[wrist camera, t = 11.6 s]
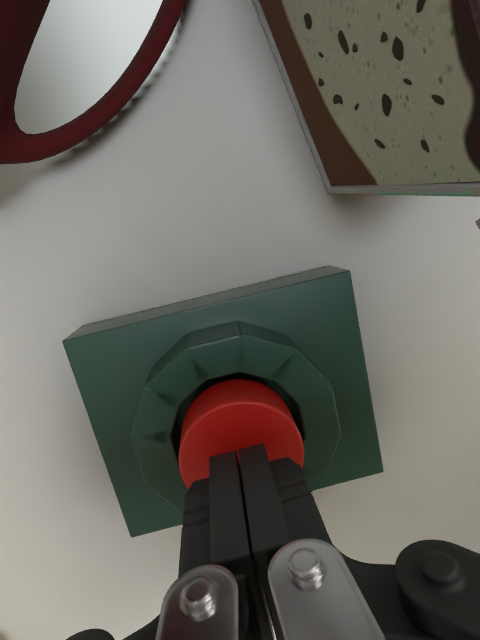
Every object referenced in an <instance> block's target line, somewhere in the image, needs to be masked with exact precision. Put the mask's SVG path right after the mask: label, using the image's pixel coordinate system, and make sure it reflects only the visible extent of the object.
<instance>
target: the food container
mask: <svg viewBox="0 0 480 640" xmlns="http://www.w3.org/2000/svg"><path fill="white" fill-rule="evenodd" d="M252 1H253V4H254V6H255V9H256V11H257V14H258V16H259V19H260V21H261V24H262V27H263V29H264V32H265V34H266V37H267V39H268V42H269V44H270V47H271V50H272V52H273V55H274V57H275V60H276V62H277V65H278V67H279V70H280V72H281V75H282V78H283V80H284V83H285V85H286V88H287V90H288V93H289V95H290V98H291V101H292V103H293V106H294V108H295V111H296V113H297V116H298V118H299V121H300V123H301V126H302V129H303V131H304V134H305V136H306V139H307V141H308V144H309V146H310V149H311V152H312V154H313V157H314V159H315V162H316V164H317V167H318V169H319V172H320V174H321V177H322V180H323V182H324V185H325V187H326V190H327V192H328V193H329V194H379V195H429V196H480V0H252ZM475 222H476V224H477V226H478V228H479V229H480V219H479V220H477V221H475Z"/></svg>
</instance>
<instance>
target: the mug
mask: <svg viewBox="0 0 480 640" xmlns="http://www.w3.org/2000/svg"><path fill="white" fill-rule="evenodd" d="M49 2H50V0H0V164H17V163H29V162H34V161H39V160H43V159H46V158H49V157H52V156H55V155H57V154H59V153H61V152H63V151H66V150H68V149H70V148H71V147H73V146H75V145H77V144H78V143H80V142H82V141H84V140H85V139H86V138H88V137H89V136H91V135H92V134H94V133H95V132H96V131H98V130H99V129H100V128H101V127H103V126H104V125H105V124H106V123H107V122H109V121H110V120H111V119H112V118H113V117H114V116H115V115H116V114H117V113H118V112H119V111H120V110H121V109H122V108H123V107H124V106H125V105H126V104H127V102H128V101H129V100H130V99H131V98H132V96H133V95H134V94H135V93H136V92H137V90H138V89H139V88H140V86H141V85H142V83H143V82H144V81H145V79H146V78H147V77H148V75H149V74H150V72H151V70H152V69H153V67H154V66H155V64H156V62H157V61H158V59H159V57H160V56H161V54H162V52H163V50H164V48H165V46H166V45H167V43H168V41H169V39H170V37H171V35H172V33H173V31H174V28H175V26H176V24H177V22H178V20H179V17H180V15H181V13H182V10H183V8H184V5H185V3H186V0H163V1H162V4H161V6H160V9H159V11H158V13H157V16H156V18H155V20H154V22H153V24H152V26H151V28H150V30H149V32H148V34H147V36H146V38H145V40H144V41H143V43H142V45H141V47H140V49H139V50H138V52H137V53H136V55H135V57H134V58H133V60H132V61H131V63H130V64H129V66H128V67H127V69H126V70H125V71H124V73H123V74H122V75H121V77H120V78H119V79H118V81H117V82H116V83H115V84H114V85H113V86H112V87H111V89H110V90H109V91H108V92H107V93H106V94H105V95H104V96H103V97H102V98H101V99H100V100H99V101H98V102H97V103H96V104H94V105H93V106H92V107H91V108H89V109H88V110H87V111H86V112H84V113H83V114H81V115H80V116H78V117H77V118H75V119H74V120H72V121H70V122H69V123H66V124H65V125H62V126H60V127H58V128H56V129H53V130H51V131H48V132H45V133H40V134H26V133H24V132H23V131H21V130H20V128H19V127H18V125H17V123H16V121H15V113H14V104H15V98H16V92H17V87H18V84H19V81H20V78H21V74H22V71H23V68H24V64H25V62H26V59H27V57H28V54H29V52H30V49H31V46H32V43H33V41H34V38H35V36H36V33H37V31H38V28H39V26H40V24H41V21H42V19H43V16H44V14H45V12H46V9H47V7H48V4H49Z"/></svg>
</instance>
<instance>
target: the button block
mask: <svg viewBox="0 0 480 640" xmlns="http://www.w3.org/2000/svg"><path fill="white" fill-rule="evenodd" d="M63 345H64V348H65V350H66V353H67V356H68V359H69V362H70V365H71V368H72V370H73V373H74V376H75V379H76V382H77V385H78V388H79V390H80V393H81V396H82V399H83V402H84V405H85V407H86V410H87V413H88V416H89V419H90V422H91V425H92V427H93V430H94V433H95V436H96V439H97V442H98V445H99V447H100V450H101V453H102V456H103V459H104V462H105V464H106V467H107V470H108V473H109V476H110V479H111V482H112V484H113V487H114V490H115V493H116V496H117V499H118V502H119V504H120V507H121V510H122V513H123V516H124V519H125V522H126V524H127V527H128V530H129V533H130V536H131V537H135V536H139V535H143V534H147V533H151V532H155V531H158V530H162V529H166V528H170V527H174V526H178V525H181V524H182V523H183V515H184V512H183V510H184V497H185V495H186V493H187V491H188V488H187V487H186V485H185V483H184V481H183V479H182V476H181V473H180V469H179V448H180V440H181V432H182V425H183V420H184V417H185V414H186V412H187V410H188V408H189V406H190V405H191V403H192V402H193V401H194V400H195V398H196V397H197V396H198V395H199V394H201V393H202V392H203V391H204V390H206V389H208V388H209V387H211V386H213V385H215V384H217V383H220V382H223V381H228V380H235V379H244V380H251V381H256V382H259V383H262V384H264V385H266V386H268V387H269V388H271V389H272V390H274V391H275V392H276V393H277V394H279V396H280V397H281V398H282V399H283V400H284V402H285V403H286V405H287V407H288V409H289V411H290V413H291V415H292V417H293V419H294V422H295V424H296V426H297V428H298V430H299V432H300V435H301V437H302V441H303V446H304V461H303V466H302V471H303V474H304V476H305V479H306V482H307V484H308V486H309V488H310V491H311V492H312V491H313V490H316V489H320V488H323V487H327V486H331V485H335V484H339V483H343V482H346V481H350V480H354V479H358V478H362V477H366V476H369V475H373V474H377V473H381V472H383V465H382V459H381V453H380V447H379V441H378V435H377V429H376V423H375V417H374V411H373V405H372V400H371V394H370V388H369V382H368V376H367V370H366V364H365V358H364V352H363V346H362V340H361V334H360V328H359V322H358V316H357V310H356V304H355V298H354V292H353V286H352V280H351V274H350V271H349V270H345V269H341V268H338V267H334V266H325V267H321V268H317V269H313V270H309V271H305V272H301V273H297V274H293V275H289V276H284V277H280V278H276V279H272V280H268V281H264V282H260V283H256V284H252V285H248V286H244V287H239V288H235V289H231V290H227V291H223V292H219V293H215V294H211V295H207V296H203V297H198V298H194V299H190V300H186V301H182V302H178V303H174V304H170V305H166V306H162V307H157V308H153V309H149V310H145V311H141V312H137V313H133V314H129V315H125V316H121V317H116V318H112V319H108V320H104V321H100V322H96V323H92V324H88V325H84V326H81V327H80V328H79V329H78V330H76V331H75V332H74V333H72V334H71V335H70V336H68V337H67V338H66V339H64V340H63Z"/></svg>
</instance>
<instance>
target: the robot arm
mask: <svg viewBox="0 0 480 640" xmlns="http://www.w3.org/2000/svg"><path fill="white" fill-rule="evenodd" d="M238 455H239V459H238ZM238 455H237V452H236V450H234V451H230V452H226V453H222V454H218V455H214V456H211V457H209V477H208V478H204V479H200V480H196V481H193V483H192V485H191V486H190V488H189V490H188V491H187V493H186V495H185V497H184V510H183V512H184V515H183V523H182V525H183V528H182V536H181V548H180V561H179V574H178V579H177V580H176V581H175V582H174V583H173V584H172V585H171V587H170V588H169V589H168V591H167V593H166V595H165V597H164V599H163V603H162V607H161V612H160V614H159V615H158V616H157V617H156V618H155V619H154V620H153V621H152V622H150V623H149V624H147V625H146V626H144V627H143V628H141V629H140V630H138V631H136V632H135V633H133V634H131V635H129V636H128V637H126V638H124V639H123V640H274V635H273V629H272V624H273V627H274V631H275V635H276V639H277V640H480V554H478V553H476V552H473V551H471V550H468V549H466V548H464V547H461V546H459V545H456V544H453V543H450V542H446V541H442V540H423V541H418V542H415V543H413V544H411V545H409V546H407V547H406V548H405V549H403V550H402V552H401V553H400V554H399V556H398V558H397V560H396V564H395V565H389V564H368V563H363V562H359V561H356V560H353V559H351V558H349V557H347V556H345V555H344V554H342V553H341V552H340V551H339V550H338V549H337V548H336V547H335V546H334V545H333V543H332V542H331V540H330V538H329V535H328V533H327V530H326V528H325V525H324V523H323V520H322V518H321V515H320V513H319V511H318V508H317V506H316V503H315V501H314V498H313V496H312V493H311V491H310V488H309V486H308V484H307V482H306V479H305V476H304V474H303V471H302V469H301V466H300V465H299V464H297V463H296V462H295V461H293V460H292V459H291V458H289V457H284V458H280V459H276V460H272V461H269V460H268V456H267V453H266V449H265V445H264V443H260V444H256V445H252V446H249V447H245V448H241V449H238ZM239 462H240V463H239ZM270 616H271V617H270ZM271 620H272V623H271ZM66 640H114V638H113V636H112V635H111V634H110V633H109V632H107V631H105V630H102V629H89V630H84V631H82V632H79V633H77V634H75V635H73V636H71V637H69V638H68V639H66Z"/></svg>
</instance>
